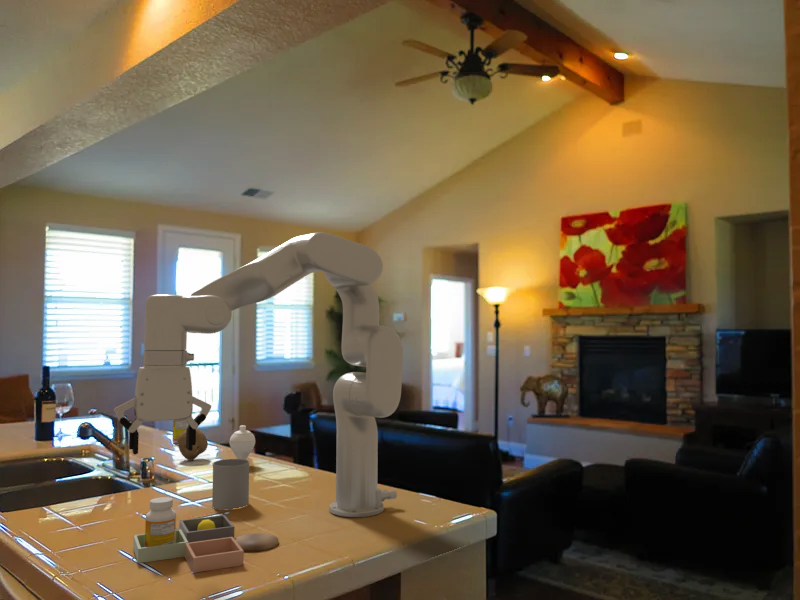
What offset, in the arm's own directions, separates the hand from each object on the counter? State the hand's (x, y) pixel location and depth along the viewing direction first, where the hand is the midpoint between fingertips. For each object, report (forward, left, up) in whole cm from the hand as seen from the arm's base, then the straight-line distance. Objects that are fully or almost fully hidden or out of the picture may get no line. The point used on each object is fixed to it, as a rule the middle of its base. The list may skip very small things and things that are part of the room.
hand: (162, 451), depth 124 cm
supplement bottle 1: (0, 0, -19) cm, 19 cm away
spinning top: (-32, -70, -19) cm, 79 cm away
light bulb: (-9, -7, -19) cm, 22 cm away
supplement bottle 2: (-22, -119, -19) cm, 122 cm away
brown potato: (-20, -85, -19) cm, 89 cm away
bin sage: (0, 0, -19) cm, 19 cm away
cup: (-19, -27, -19) cm, 38 cm away
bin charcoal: (-9, -6, -19) cm, 22 cm away
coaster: (-17, +3, -19) cm, 25 cm away
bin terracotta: (-8, +9, -19) cm, 22 cm away
